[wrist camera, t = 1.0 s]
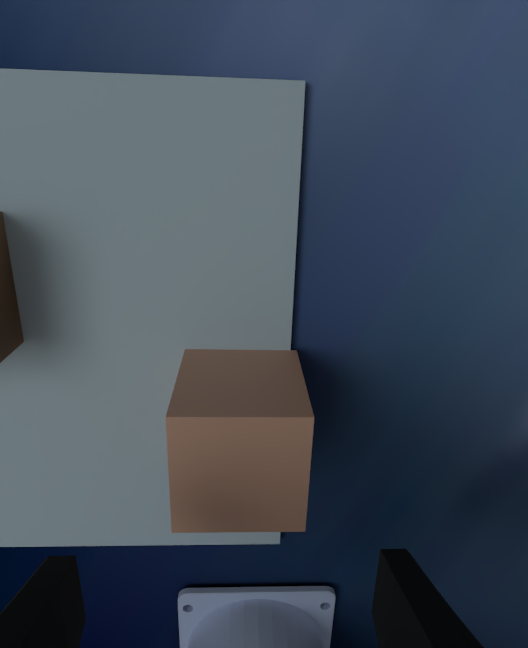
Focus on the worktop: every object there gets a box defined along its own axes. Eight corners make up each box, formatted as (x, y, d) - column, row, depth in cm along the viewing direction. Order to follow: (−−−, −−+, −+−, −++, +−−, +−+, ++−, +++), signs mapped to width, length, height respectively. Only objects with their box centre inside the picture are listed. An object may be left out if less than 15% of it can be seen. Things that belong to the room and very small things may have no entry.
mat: (279, 537, 23) (279, 544, 23) (-58, 540, 22) (-63, 547, 22) (303, 82, 16) (305, 80, 15) (-191, 62, 15) (-203, 60, 15)
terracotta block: (290, 443, 20) (305, 531, 16) (187, 443, 20) (171, 533, 16) (296, 350, 19) (314, 417, 14) (184, 349, 19) (165, 417, 14)
